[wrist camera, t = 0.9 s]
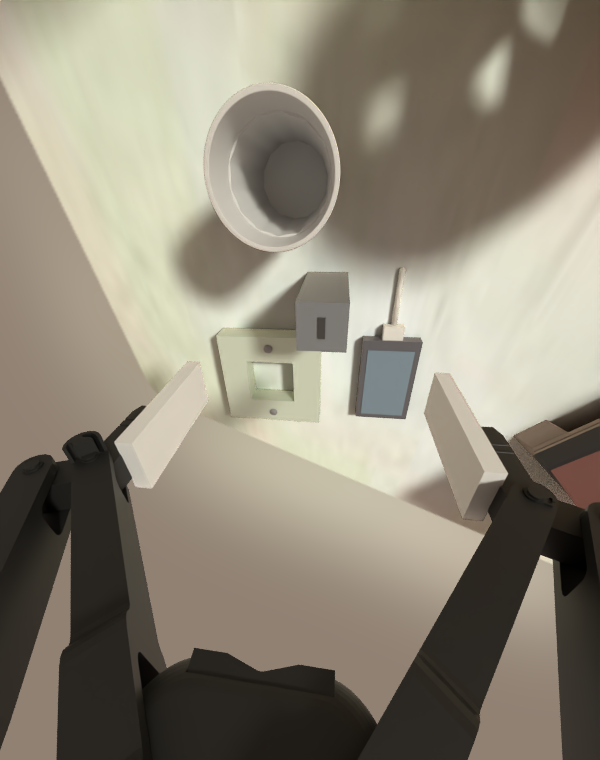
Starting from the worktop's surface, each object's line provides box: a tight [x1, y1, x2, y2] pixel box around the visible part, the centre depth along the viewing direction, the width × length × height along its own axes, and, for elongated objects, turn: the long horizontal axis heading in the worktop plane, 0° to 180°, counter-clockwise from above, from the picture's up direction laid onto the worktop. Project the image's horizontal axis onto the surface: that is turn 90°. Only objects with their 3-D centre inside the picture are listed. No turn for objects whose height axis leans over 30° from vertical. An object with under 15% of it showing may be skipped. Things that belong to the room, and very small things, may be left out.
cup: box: [204, 83, 340, 252], centre depth 22 cm, size 8×8×12 cm
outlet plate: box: [216, 328, 321, 423], centre depth 37 cm, size 12×12×3 cm
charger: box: [295, 272, 350, 352], centre depth 28 cm, size 4×4×10 cm
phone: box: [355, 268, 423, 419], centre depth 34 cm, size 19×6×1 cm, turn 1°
